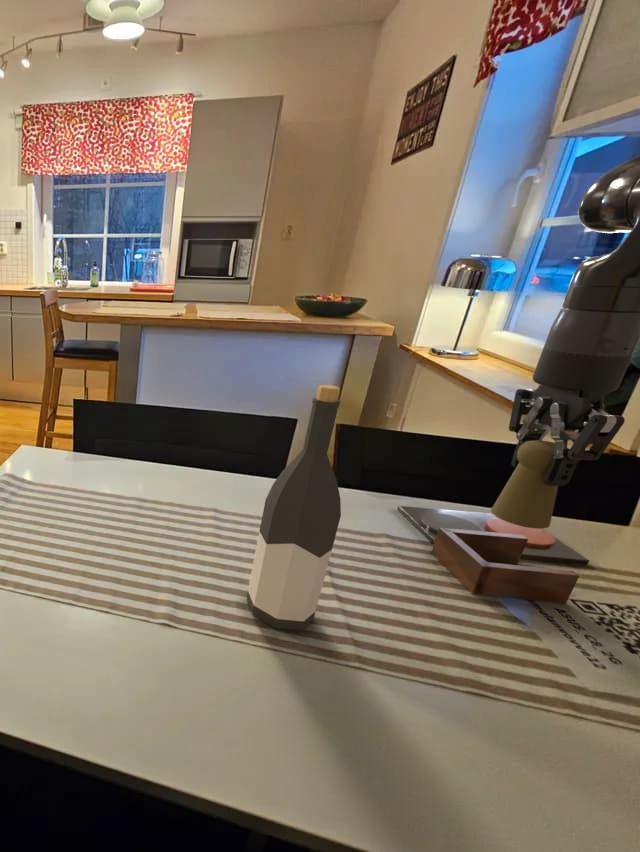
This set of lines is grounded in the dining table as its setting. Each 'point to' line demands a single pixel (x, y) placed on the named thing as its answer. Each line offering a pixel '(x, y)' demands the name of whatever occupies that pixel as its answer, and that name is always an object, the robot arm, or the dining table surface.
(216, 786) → the dining table surface
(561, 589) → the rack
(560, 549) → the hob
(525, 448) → the olive knobbed cone
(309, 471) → the wine bottle
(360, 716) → the dining table surface
